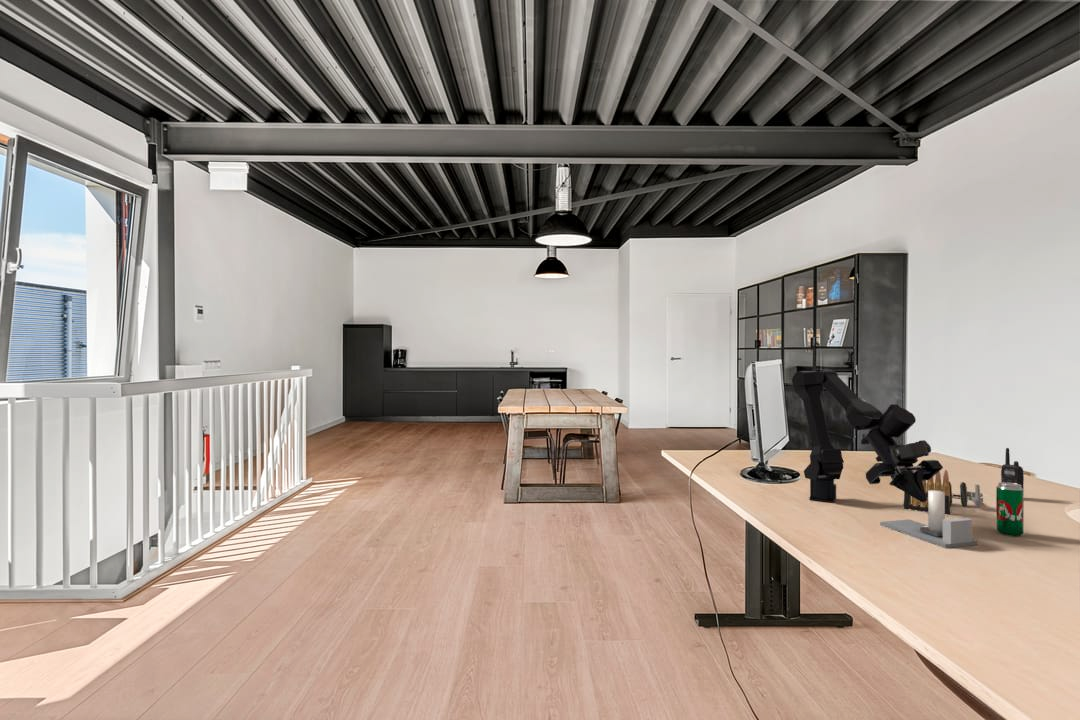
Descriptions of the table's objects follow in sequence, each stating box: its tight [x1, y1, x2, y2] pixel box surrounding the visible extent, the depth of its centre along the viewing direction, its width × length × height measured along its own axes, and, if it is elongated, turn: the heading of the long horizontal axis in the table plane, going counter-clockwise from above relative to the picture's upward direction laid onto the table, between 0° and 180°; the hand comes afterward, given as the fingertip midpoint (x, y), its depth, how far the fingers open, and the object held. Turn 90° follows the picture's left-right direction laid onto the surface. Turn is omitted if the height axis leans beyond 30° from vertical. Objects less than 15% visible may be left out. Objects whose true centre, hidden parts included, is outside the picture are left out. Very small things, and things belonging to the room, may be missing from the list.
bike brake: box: [934, 481, 984, 508], centre depth 168 cm, size 14×7×20 cm
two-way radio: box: [1000, 447, 1025, 490], centre depth 171 cm, size 6×4×15 cm
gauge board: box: [879, 516, 978, 549], centre depth 137 cm, size 18×9×6 cm, turn 13°
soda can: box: [995, 481, 1025, 537], centre depth 137 cm, size 5×5×12 cm
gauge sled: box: [920, 490, 946, 536], centre depth 135 cm, size 4×7×10 cm, turn 103°
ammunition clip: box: [903, 469, 951, 516], centre depth 157 cm, size 11×2×12 cm, turn 53°
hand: (924, 501), depth 137 cm, fingers closed
